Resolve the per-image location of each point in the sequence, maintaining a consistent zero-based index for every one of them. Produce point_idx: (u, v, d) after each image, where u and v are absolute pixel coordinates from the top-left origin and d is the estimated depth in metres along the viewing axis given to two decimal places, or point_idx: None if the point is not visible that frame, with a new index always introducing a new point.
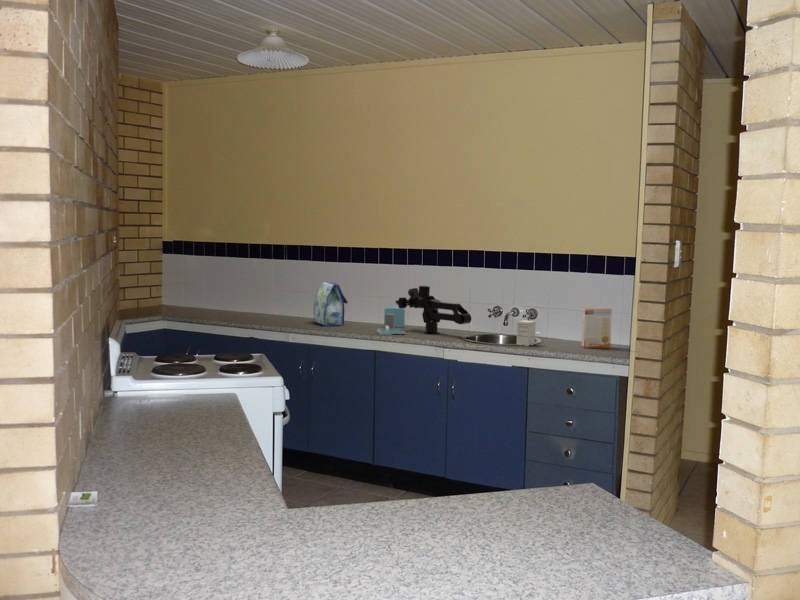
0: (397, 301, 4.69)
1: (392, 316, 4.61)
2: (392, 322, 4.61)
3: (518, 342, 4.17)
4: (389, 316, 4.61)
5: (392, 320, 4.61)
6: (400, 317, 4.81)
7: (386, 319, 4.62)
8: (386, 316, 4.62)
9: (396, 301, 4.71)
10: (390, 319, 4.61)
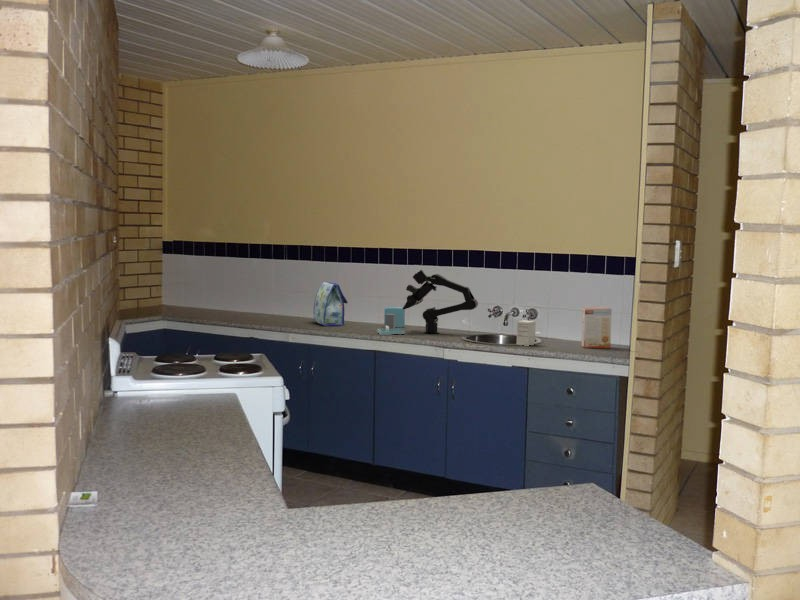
0: (405, 306, 4.56)
1: (392, 316, 4.61)
2: (392, 322, 4.61)
3: (518, 342, 4.17)
4: (389, 316, 4.61)
5: (392, 320, 4.61)
6: (400, 317, 4.81)
7: (386, 319, 4.62)
8: (386, 316, 4.62)
9: (404, 307, 4.56)
10: (390, 319, 4.61)
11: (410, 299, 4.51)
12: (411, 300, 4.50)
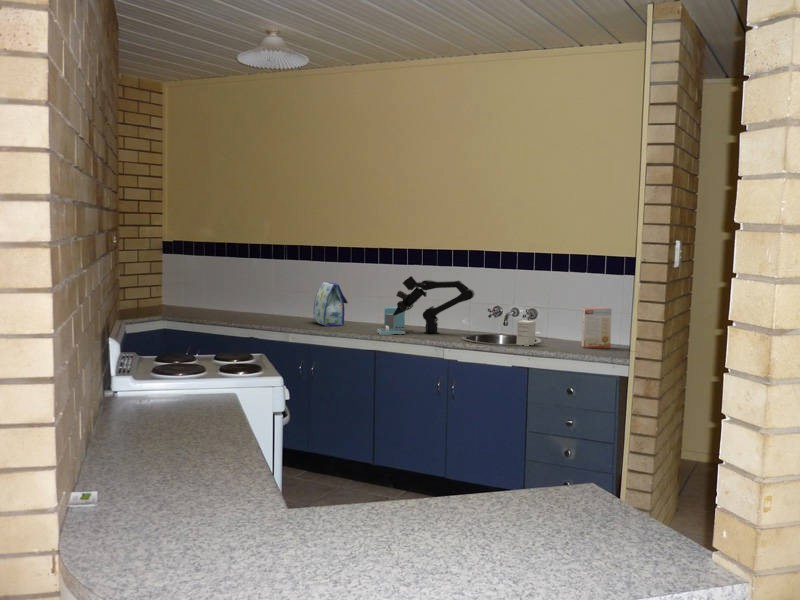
0: (395, 312, 4.57)
1: (392, 316, 4.61)
2: (392, 322, 4.61)
3: (518, 342, 4.17)
4: (389, 316, 4.61)
5: (392, 320, 4.61)
6: (400, 317, 4.81)
7: (386, 319, 4.62)
8: (386, 316, 4.62)
9: (394, 313, 4.58)
10: (390, 319, 4.61)
11: (400, 305, 4.52)
12: (401, 306, 4.52)
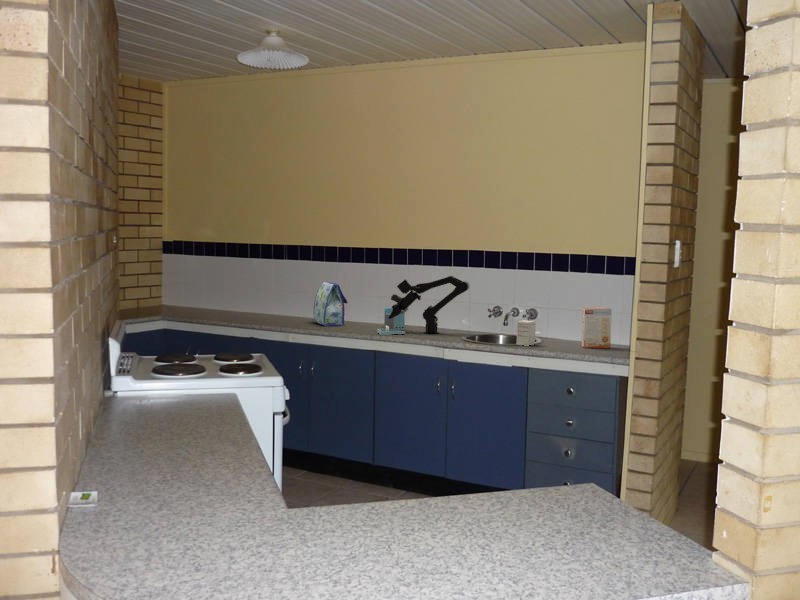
0: (391, 315, 4.60)
1: None
2: (392, 322, 4.61)
3: (518, 342, 4.17)
4: None
5: (392, 320, 4.61)
6: (400, 317, 4.81)
7: (386, 319, 4.62)
8: (386, 316, 4.62)
9: (389, 316, 4.60)
10: (390, 319, 4.61)
11: (395, 309, 4.53)
12: (396, 310, 4.53)
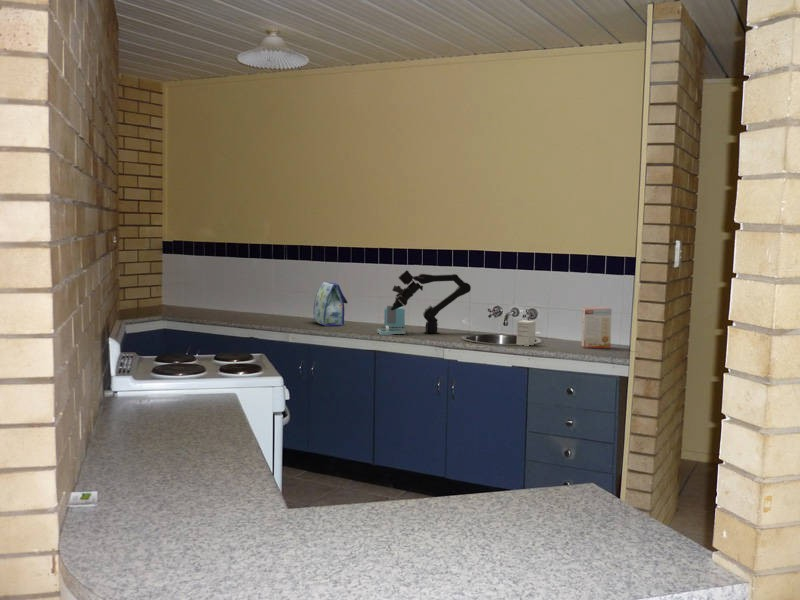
0: (394, 306, 4.52)
1: None
2: (394, 314, 4.54)
3: (518, 342, 4.17)
4: None
5: (394, 312, 4.54)
6: (400, 317, 4.81)
7: (388, 311, 4.54)
8: (388, 308, 4.53)
9: (392, 308, 4.53)
10: (392, 311, 4.54)
11: (401, 300, 4.47)
12: (402, 301, 4.47)
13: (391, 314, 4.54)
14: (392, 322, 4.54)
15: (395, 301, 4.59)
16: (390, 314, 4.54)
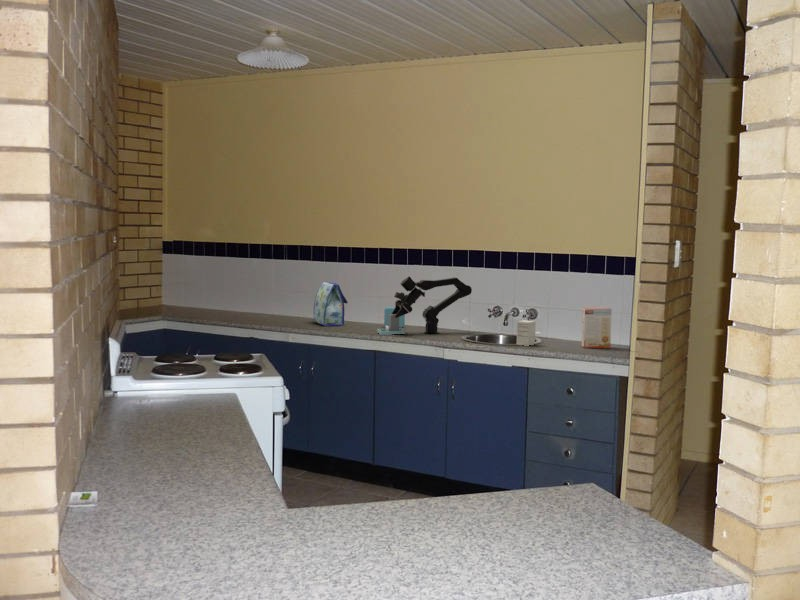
0: (398, 314, 4.47)
1: None
2: (398, 322, 4.50)
3: (518, 342, 4.17)
4: (395, 317, 4.50)
5: (398, 320, 4.50)
6: (400, 317, 4.81)
7: (392, 320, 4.49)
8: (392, 317, 4.49)
9: (396, 315, 4.47)
10: (396, 320, 4.50)
11: (406, 307, 4.44)
12: (408, 308, 4.44)
13: (394, 323, 4.50)
14: None
15: (395, 307, 4.57)
16: (393, 323, 4.50)
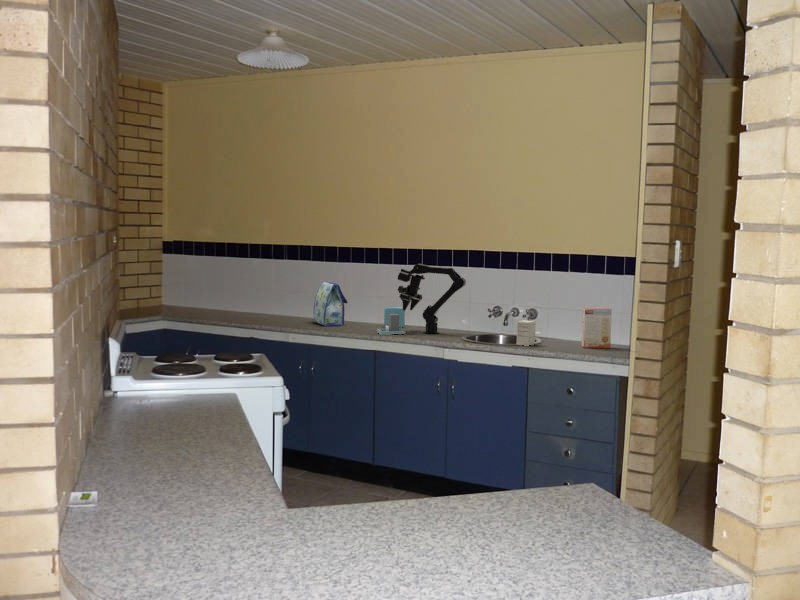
0: (403, 306, 4.56)
1: (398, 316, 4.50)
2: (398, 322, 4.50)
3: (518, 342, 4.17)
4: (395, 317, 4.50)
5: (398, 320, 4.50)
6: (400, 317, 4.81)
7: (392, 320, 4.49)
8: (392, 317, 4.49)
9: (403, 308, 4.57)
10: (396, 320, 4.50)
11: (402, 297, 4.52)
12: (404, 297, 4.52)
13: (394, 323, 4.50)
14: None
15: (411, 301, 4.65)
16: (393, 323, 4.50)
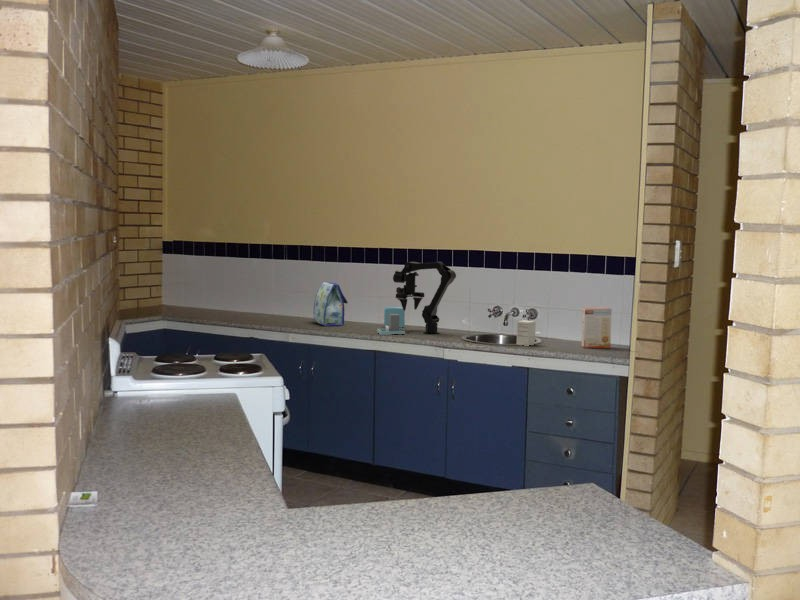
0: (402, 306, 4.61)
1: (398, 316, 4.50)
2: (398, 322, 4.50)
3: (518, 342, 4.17)
4: (395, 317, 4.50)
5: (398, 320, 4.50)
6: (400, 317, 4.81)
7: (392, 320, 4.49)
8: (392, 317, 4.49)
9: (403, 308, 4.61)
10: (396, 320, 4.50)
11: (398, 296, 4.58)
12: (398, 296, 4.57)
13: (394, 323, 4.50)
14: None
15: (414, 300, 4.68)
16: (393, 323, 4.50)
